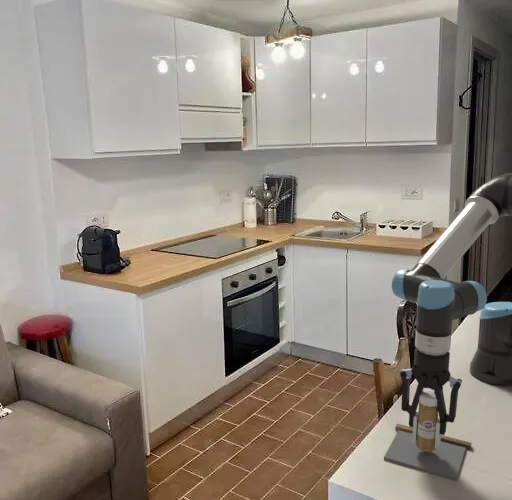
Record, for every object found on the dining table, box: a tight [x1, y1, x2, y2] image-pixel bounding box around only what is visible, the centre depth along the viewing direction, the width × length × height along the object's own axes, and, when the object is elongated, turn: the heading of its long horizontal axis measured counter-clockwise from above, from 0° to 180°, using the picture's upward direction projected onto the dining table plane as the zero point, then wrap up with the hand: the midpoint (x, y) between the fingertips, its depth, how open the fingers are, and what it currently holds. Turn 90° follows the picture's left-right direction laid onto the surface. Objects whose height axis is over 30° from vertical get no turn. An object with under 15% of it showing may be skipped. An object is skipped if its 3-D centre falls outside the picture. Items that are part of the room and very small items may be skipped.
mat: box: [383, 430, 466, 481], centre depth 123 cm, size 13×16×1 cm
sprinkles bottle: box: [416, 390, 439, 452], centre depth 121 cm, size 5×5×13 cm
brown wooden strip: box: [394, 423, 473, 450], centre depth 130 cm, size 2×18×1 cm, turn 60°
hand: (426, 442), depth 123 cm, fingers closed on sprinkles bottle, 4 cm apart
